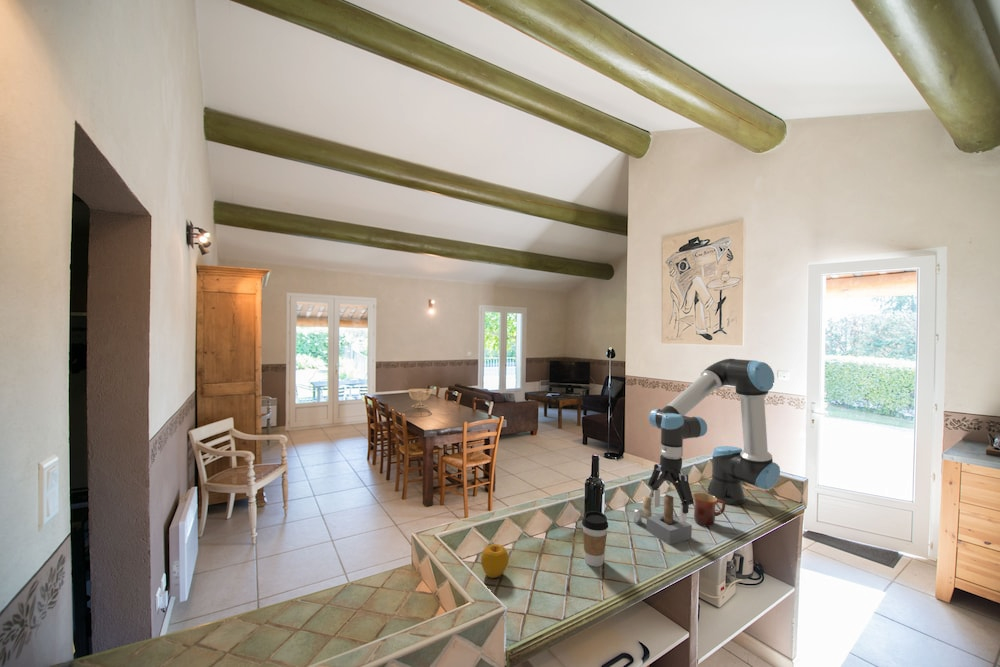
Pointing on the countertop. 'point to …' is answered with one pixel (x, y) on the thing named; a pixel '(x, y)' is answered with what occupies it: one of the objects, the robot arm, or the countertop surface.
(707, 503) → the mug
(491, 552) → the apple
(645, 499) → the beech pin
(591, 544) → the coffee cup
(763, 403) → the robot arm
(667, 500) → the walnut pin
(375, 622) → the countertop surface
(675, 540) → the hole block
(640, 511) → the steel pin
